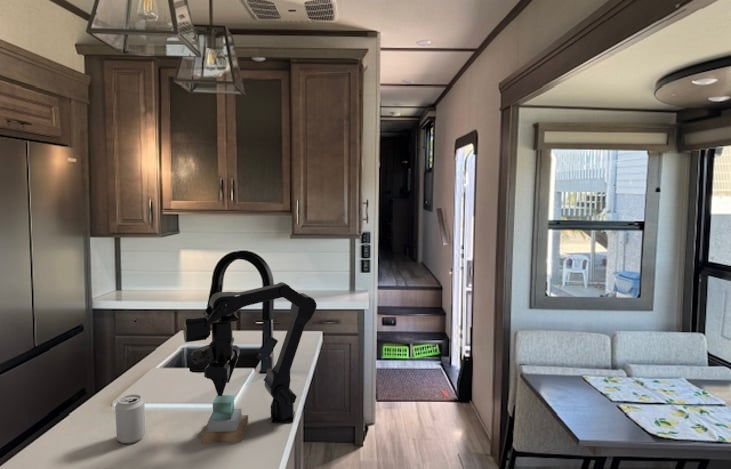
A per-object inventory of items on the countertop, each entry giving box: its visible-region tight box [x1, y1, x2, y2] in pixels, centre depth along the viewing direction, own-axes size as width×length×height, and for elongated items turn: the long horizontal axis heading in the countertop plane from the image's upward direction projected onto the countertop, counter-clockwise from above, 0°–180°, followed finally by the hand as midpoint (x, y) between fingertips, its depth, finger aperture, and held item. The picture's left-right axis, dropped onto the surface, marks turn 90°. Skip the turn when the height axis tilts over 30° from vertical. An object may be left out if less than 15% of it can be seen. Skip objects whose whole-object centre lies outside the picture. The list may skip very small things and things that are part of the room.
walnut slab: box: [201, 414, 249, 444], centre depth 146 cm, size 11×11×3 cm
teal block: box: [212, 394, 235, 420], centre depth 145 cm, size 5×5×5 cm
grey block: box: [207, 407, 243, 432], centre depth 145 cm, size 8×8×3 cm
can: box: [114, 393, 147, 445], centre depth 142 cm, size 8×8×12 cm
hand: (223, 389), depth 145 cm, fingers open, 9 cm apart
